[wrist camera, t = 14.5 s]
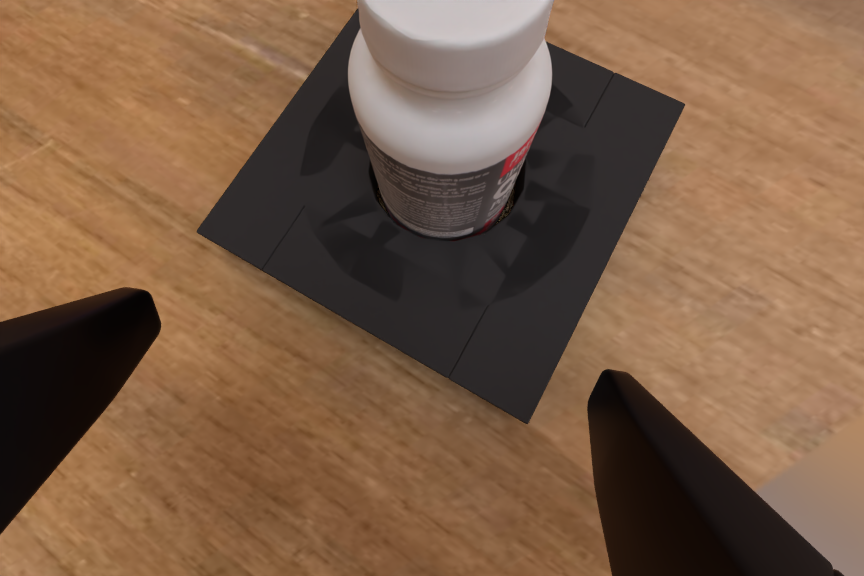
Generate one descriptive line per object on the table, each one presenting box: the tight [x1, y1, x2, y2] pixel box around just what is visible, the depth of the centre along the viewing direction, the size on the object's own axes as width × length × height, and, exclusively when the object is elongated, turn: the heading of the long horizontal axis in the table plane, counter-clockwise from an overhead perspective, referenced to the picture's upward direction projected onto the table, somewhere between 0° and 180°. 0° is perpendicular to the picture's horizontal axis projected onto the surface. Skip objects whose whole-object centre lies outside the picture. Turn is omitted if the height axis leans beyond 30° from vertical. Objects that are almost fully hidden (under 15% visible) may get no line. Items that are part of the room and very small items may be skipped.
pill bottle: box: [348, 0, 554, 241], centre depth 12 cm, size 5×5×10 cm
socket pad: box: [197, 9, 685, 424], centre depth 16 cm, size 14×14×2 cm
